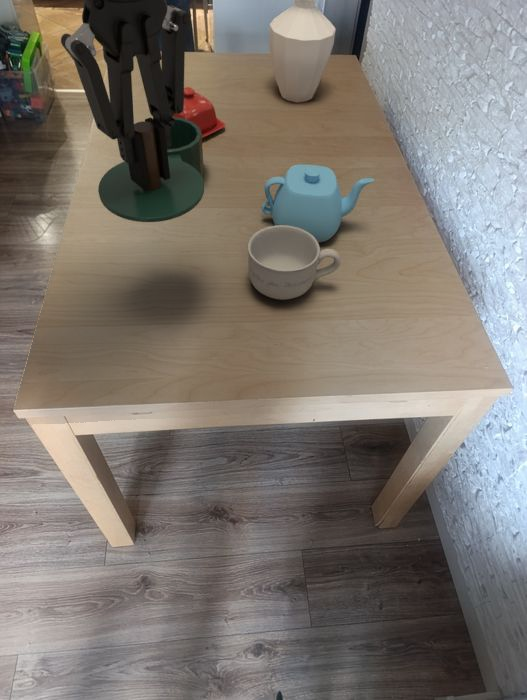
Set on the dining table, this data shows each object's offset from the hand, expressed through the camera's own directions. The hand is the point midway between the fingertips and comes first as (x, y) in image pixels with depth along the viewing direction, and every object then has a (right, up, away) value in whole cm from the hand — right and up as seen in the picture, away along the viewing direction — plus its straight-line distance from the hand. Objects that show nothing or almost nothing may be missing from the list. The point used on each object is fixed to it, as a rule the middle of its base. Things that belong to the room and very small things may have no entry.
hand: (150, 178), depth 61 cm
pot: (-4, +13, +35) cm, 38 cm away
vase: (+21, +40, +58) cm, 73 cm away
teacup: (+18, -11, +19) cm, 28 cm away
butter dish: (-2, +26, +46) cm, 53 cm away
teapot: (+22, +1, +29) cm, 36 cm away
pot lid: (0, -1, +1) cm, 2 cm away
